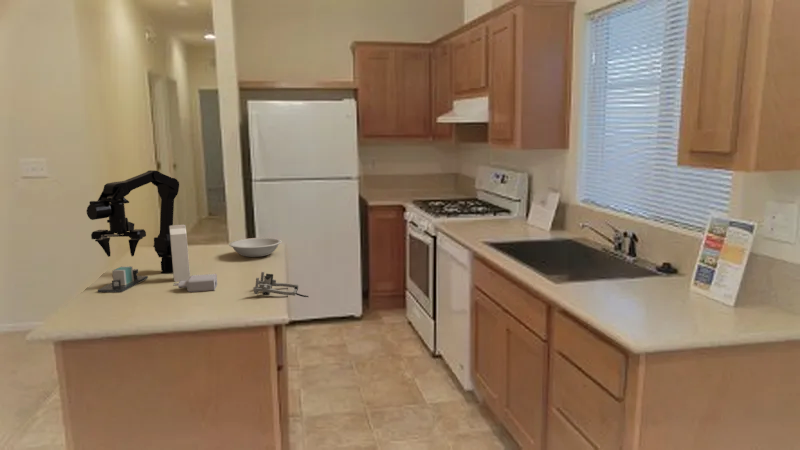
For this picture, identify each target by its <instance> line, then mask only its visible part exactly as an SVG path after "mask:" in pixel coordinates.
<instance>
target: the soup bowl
mask: <svg viewBox="0 0 800 450" xmlns="http://www.w3.org/2000/svg"><path fill="white" fill-rule="evenodd" d="M282 242H283V241H282V240H281V239H279V238H275V237H252V238H251V237H250V238H242V239H236V240H233V241H231V242H229V244H228V245H229V247H231V248H233V250H234V251H235V252H236V253H237V254H238V255H241V256H243V257H249V258H257V257H265V256H268V255H271V254H272V253H274V252H275V251H276V250H277V248H278V246H279V245H280V244H282Z"/></svg>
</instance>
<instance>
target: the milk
mask: <svg viewBox="0 0 800 450" xmlns="http://www.w3.org/2000/svg"><path fill="white" fill-rule="evenodd" d="M169 227H170V241H171V252H172V264H173V273H172V274H173V282H175V283H176V282H177V283H178V282H179V281H185V280H188V278H189V277H190V276H191V270H190V259H189V247H188V235H187V228H186V227H187V226H186V224H173V225H171V226H169Z"/></svg>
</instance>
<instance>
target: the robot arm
mask: <svg viewBox="0 0 800 450" xmlns="http://www.w3.org/2000/svg"><path fill="white" fill-rule="evenodd" d="M150 183H151V184H152V185H154V186H155V187H156V188H157V193H158V195H159V197H160V201H161V202H160V221H159V223H160V224H159V225H160V226H159V233H158V235H157V237H154V238H153V245H152V247H153V248H154V252H156V254H157V256H158V258H160V259H161V261H160V268H161V269H160V273H161V274H173V264H172V252H171V241H170V227H169V226H171V225H174V211H175V198H176V197H177V195H178V194H179V191H180V190H179V189H180V181H178V179H177V178H176V177H171V176H169V175H166V174H164V173H161V172H160V171H158V170H154V169H153V170H147V171H146V172H143V173H140V174H138V175H136V176H133V177H130V178H128V179H126V180H121V181H112V182H107V183H105V185H103V188H102V189H103V190H102V192H101V194H100V195H99V196H98V199H97V200H91V201H89V205H87V209H86V214H87V217H88V219H90V220H91V221H96V220H101V219H107V218H108V219H107V220H106V223H109V224H108V225H109V229H98V230H94V231H92V232H91V234H90V237H91V240H95V242H96V243H98V245H99V246H100V247H101V248H102V250H103V251H104V253H105V254H106V256H107V257H111V247H110V246H111V245H110V242H111V241H110V240H111V238H116V237H119V238H120V237H123V238H124V237H128V238H129V239H128V245H129V251H130V255H131V257H134V256H135V252H136V250H137V246H138V244H139V241H140V240H142V239H144V238H145V237H147V231H146V229H144V228H143V229H142V228H141V229H140V228H139V229H137V228H136V229H135V223H133V222H131V221H129V219H128V217H126V211H125V210H126V207H125V204H129V203H130V200H128V199H127V198H126V197H127V195H129V194H130V193H131V191H133V190H136V189H138V188H140V187H143V186H145V185H147V184H150Z"/></svg>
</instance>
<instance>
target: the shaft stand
mask: <svg viewBox="0 0 800 450" xmlns="http://www.w3.org/2000/svg"><path fill="white" fill-rule="evenodd" d="M138 274H139V268H133V278H134V280H132V281H131V282H129V283H127V284H121V280H119V278H116V279H114V280H113V279H112V280H111V283H109V284H106V285H105V286H103V287H101V288H98V289H97V293H123V292H125V291H127V290H129V289H131V288H132V287H134V286H136V285H138V284H140V283H142V282H144V281H145V280H147V279H148V278H149V276H148V275H138Z"/></svg>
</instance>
